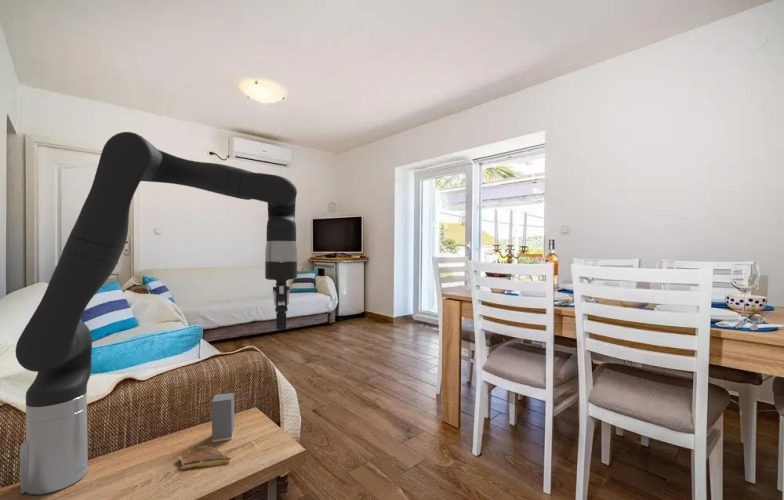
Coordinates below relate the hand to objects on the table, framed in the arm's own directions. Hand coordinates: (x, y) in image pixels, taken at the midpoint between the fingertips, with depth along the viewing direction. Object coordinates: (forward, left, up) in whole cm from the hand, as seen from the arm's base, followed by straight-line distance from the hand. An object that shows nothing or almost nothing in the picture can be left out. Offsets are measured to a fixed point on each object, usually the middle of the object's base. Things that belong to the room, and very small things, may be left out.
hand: (281, 325), depth 86 cm
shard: (-17, -1, -30) cm, 34 cm away
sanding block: (-15, +8, -29) cm, 33 cm away
